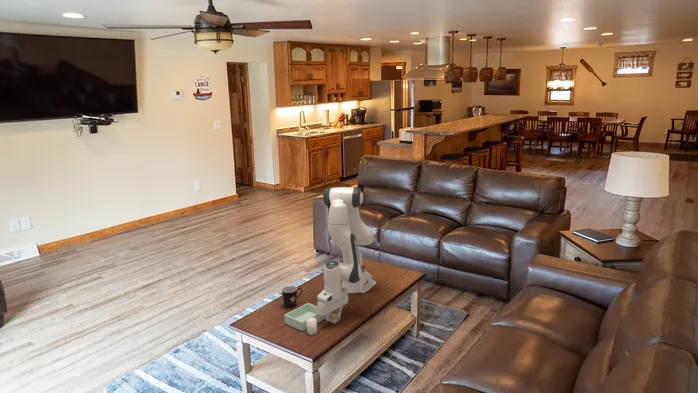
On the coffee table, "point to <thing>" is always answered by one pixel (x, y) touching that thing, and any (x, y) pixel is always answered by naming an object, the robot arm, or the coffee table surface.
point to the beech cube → (334, 316)
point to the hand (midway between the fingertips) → (333, 316)
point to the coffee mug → (290, 296)
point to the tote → (302, 316)
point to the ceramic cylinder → (311, 326)
